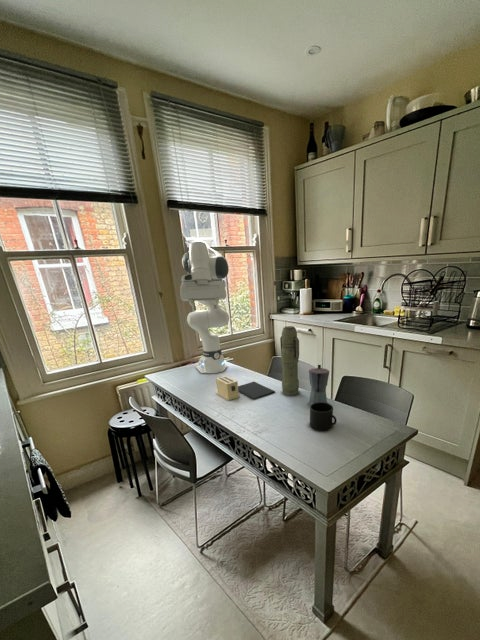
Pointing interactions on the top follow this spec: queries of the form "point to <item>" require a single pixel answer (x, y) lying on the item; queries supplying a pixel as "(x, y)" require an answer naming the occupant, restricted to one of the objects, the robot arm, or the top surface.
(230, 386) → the toaster
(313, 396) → the moka pot
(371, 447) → the top surface
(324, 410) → the mug
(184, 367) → the top surface
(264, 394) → the mat
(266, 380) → the top surface
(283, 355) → the thermos
